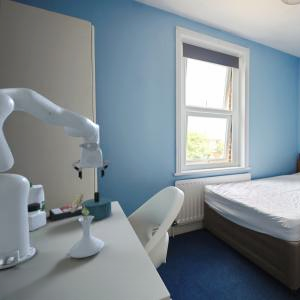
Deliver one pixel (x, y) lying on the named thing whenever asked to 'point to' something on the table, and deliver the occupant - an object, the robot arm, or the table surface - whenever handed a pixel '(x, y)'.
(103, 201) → the lid
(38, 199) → the milk carton
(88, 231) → the flower in vase
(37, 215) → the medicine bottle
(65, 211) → the calculator
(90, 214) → the tin
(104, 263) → the table surface
